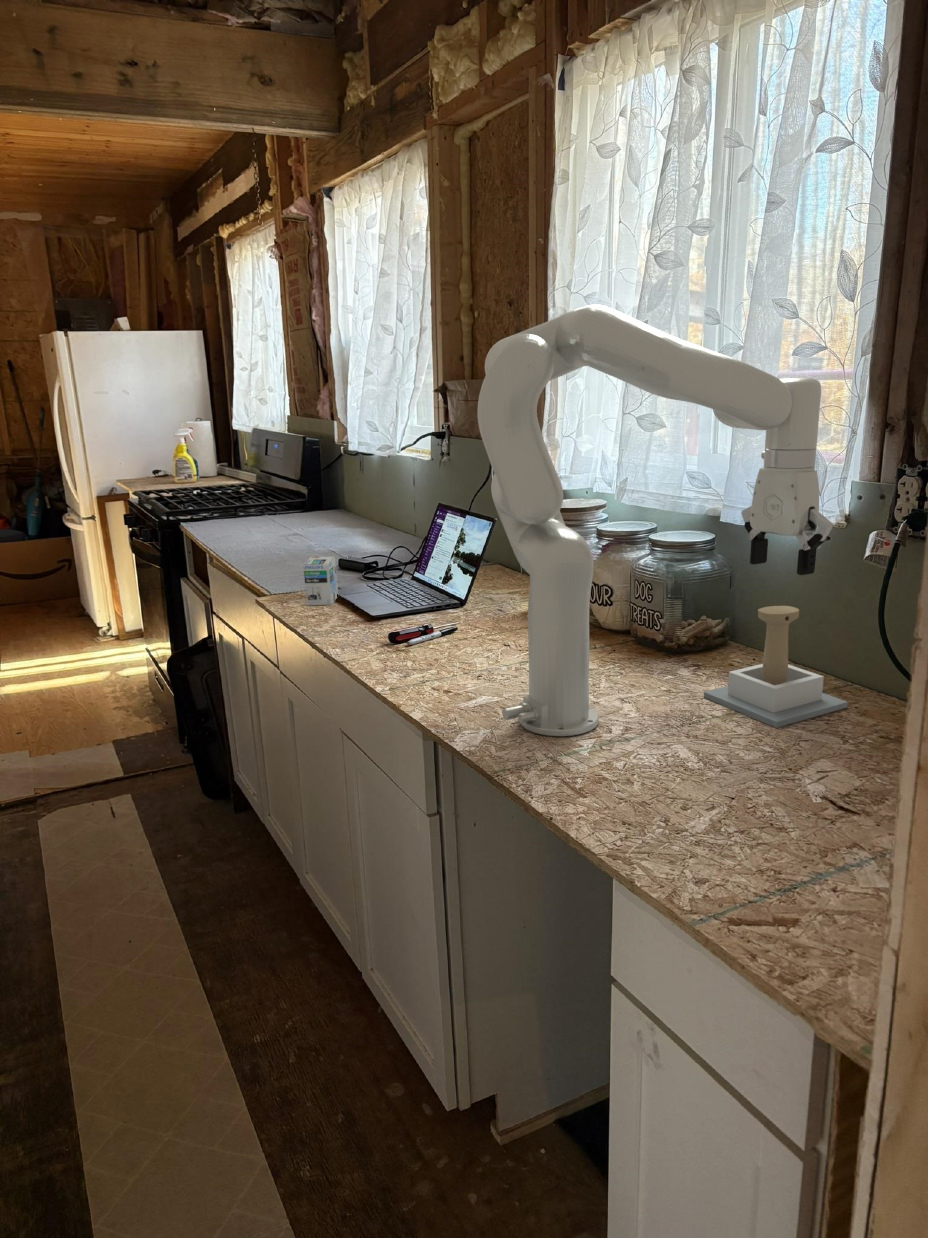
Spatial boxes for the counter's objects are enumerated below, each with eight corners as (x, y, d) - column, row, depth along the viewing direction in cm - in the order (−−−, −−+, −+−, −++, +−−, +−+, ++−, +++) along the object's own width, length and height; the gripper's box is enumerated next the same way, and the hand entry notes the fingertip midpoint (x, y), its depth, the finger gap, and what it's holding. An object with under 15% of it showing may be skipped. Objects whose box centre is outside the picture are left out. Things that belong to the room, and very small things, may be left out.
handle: (799, 699, 144) (805, 611, 140) (764, 704, 142) (769, 615, 138) (781, 689, 148) (787, 604, 144) (748, 694, 147) (752, 608, 143)
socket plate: (776, 728, 135) (778, 697, 134) (703, 697, 149) (704, 669, 148) (847, 707, 142) (849, 678, 141) (771, 680, 156) (773, 653, 155)
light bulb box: (332, 605, 219) (329, 563, 217) (305, 606, 220) (302, 564, 217) (338, 595, 230) (335, 555, 227) (313, 596, 230) (310, 555, 227)
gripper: (730, 458, 141) (724, 562, 145) (817, 466, 126) (808, 581, 131) (764, 455, 144) (757, 557, 149) (853, 462, 129) (842, 575, 134)
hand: (781, 568), depth 140 cm, fingers open, 9 cm apart
